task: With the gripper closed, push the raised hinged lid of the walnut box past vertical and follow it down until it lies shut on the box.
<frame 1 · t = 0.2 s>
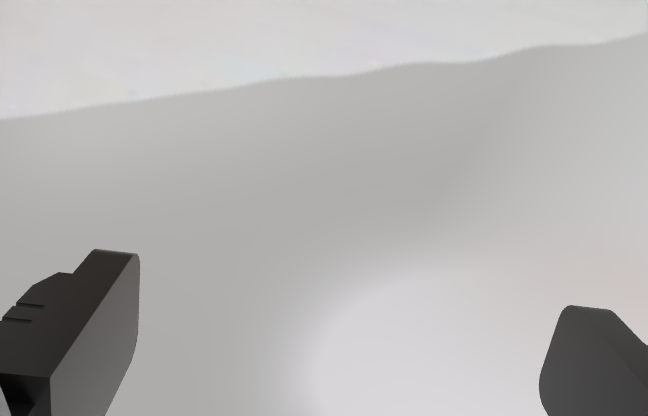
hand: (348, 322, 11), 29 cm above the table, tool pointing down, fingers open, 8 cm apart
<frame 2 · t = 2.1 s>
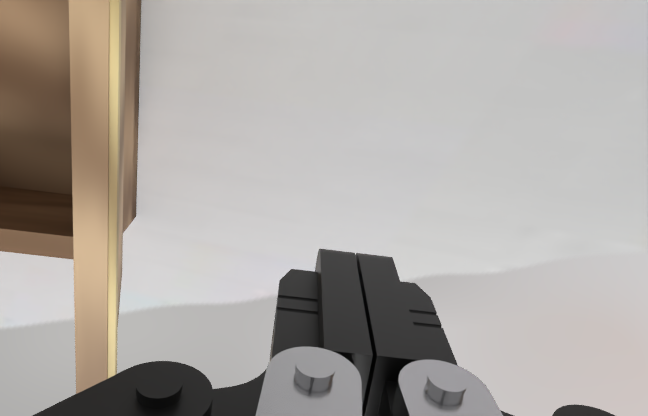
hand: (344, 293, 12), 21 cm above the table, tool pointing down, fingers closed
box: (24, 63, 30), on the table
lid: (109, 140, 19), point 12 cm above the table, hinge at 105.0°
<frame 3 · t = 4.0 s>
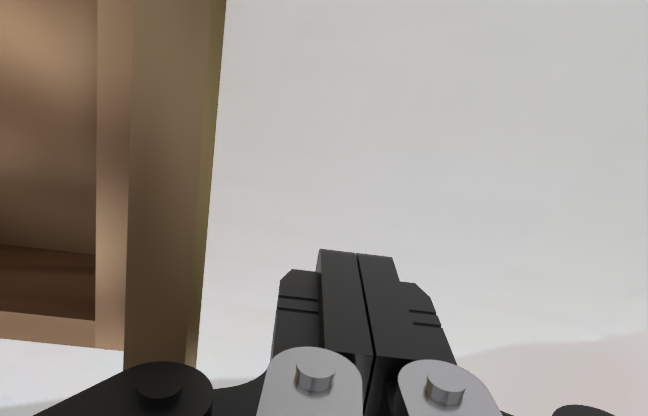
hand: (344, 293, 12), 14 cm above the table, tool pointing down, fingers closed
box: (29, 93, 24), on the table
lid: (157, 228, 13), point 12 cm above the table, hinge at 103.8°, touching gripper
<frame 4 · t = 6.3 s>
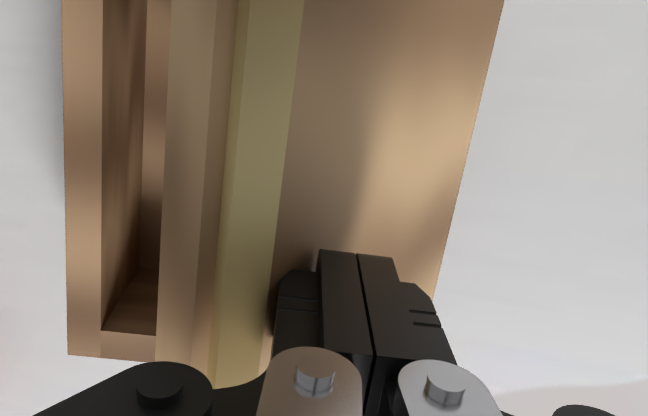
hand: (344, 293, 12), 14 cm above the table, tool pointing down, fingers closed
box: (260, 131, 24), on the table
lid: (359, 252, 14), point 11 cm above the table, hinge at 54.7°, touching gripper
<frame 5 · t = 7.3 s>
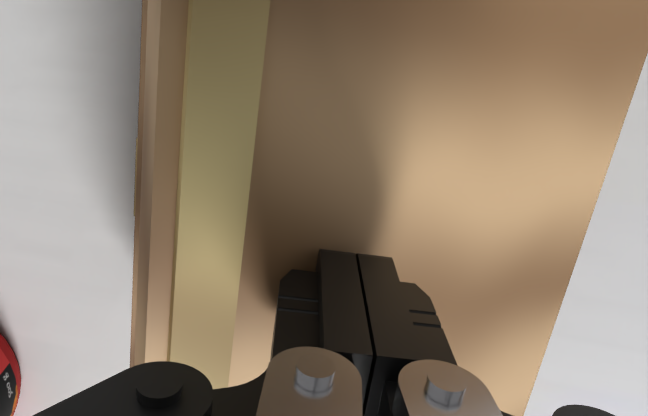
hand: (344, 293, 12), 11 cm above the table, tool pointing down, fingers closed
box: (335, 157, 22), on the table
lid: (405, 274, 13), point 10 cm above the table, hinge at 27.6°, touching gripper
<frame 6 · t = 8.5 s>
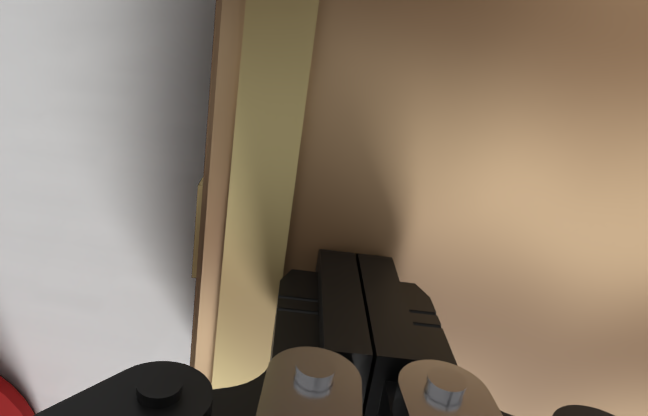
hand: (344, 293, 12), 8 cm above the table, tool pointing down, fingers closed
box: (410, 191, 19), on the table
lid: (480, 299, 12), point 7 cm above the table, hinge at 2.8°, touching gripper
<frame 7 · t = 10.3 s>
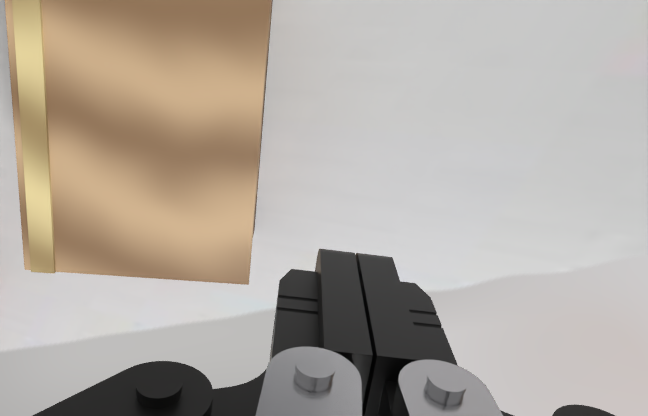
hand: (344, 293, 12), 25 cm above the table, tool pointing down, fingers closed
box: (167, 103, 35), on the table
lid: (140, 128, 28), point 7 cm above the table, hinge at 2.7°
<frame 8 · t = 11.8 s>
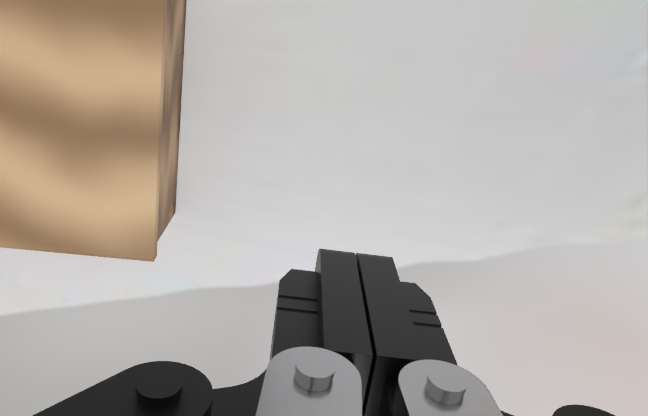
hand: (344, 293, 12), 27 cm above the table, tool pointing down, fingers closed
box: (88, 87, 36), on the table
lid: (45, 109, 30), point 7 cm above the table, hinge at 2.7°
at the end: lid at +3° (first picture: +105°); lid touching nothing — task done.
